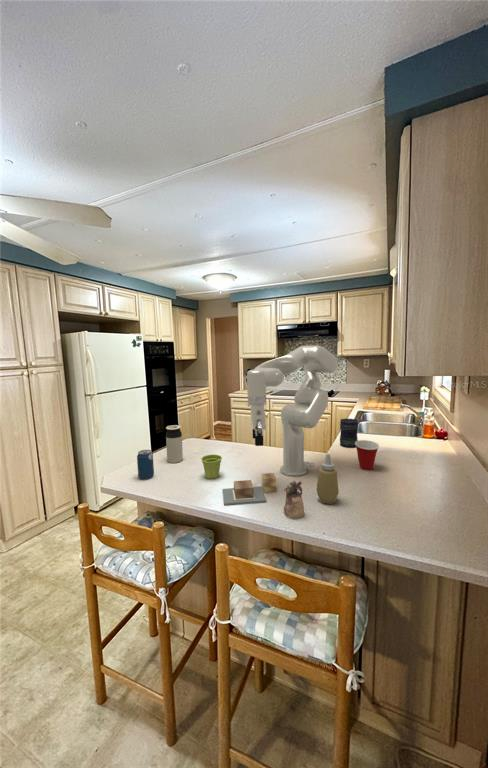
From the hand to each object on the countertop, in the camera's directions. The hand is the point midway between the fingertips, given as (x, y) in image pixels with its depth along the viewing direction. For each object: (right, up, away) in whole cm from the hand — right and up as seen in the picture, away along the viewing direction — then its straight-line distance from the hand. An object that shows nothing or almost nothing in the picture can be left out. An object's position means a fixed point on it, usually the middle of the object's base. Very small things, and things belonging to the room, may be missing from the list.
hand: (257, 441), depth 126 cm
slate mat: (-6, -21, -5) cm, 22 cm away
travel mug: (-42, -17, +35) cm, 57 cm away
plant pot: (-20, -19, +15) cm, 31 cm away
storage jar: (+55, -13, +54) cm, 79 cm away
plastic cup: (+53, -17, +21) cm, 59 cm away
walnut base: (-6, -20, -5) cm, 21 cm away
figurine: (+12, -22, -18) cm, 31 cm away
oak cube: (+5, -20, 0) cm, 20 cm away
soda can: (-50, -19, +15) cm, 56 cm away
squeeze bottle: (+26, -21, -9) cm, 34 cm away
